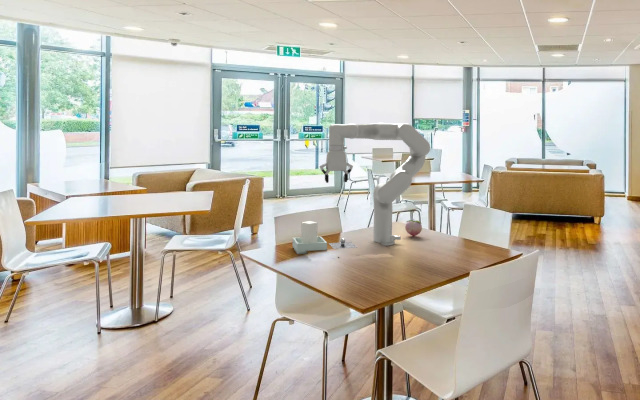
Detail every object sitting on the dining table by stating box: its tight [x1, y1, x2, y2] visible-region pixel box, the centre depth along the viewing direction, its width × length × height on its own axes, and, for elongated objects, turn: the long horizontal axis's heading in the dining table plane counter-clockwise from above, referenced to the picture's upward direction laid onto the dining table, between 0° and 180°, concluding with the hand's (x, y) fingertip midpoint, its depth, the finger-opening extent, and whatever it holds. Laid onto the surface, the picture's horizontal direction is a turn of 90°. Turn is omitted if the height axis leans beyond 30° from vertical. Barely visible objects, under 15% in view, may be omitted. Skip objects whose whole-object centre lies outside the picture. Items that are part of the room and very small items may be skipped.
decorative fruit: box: [404, 219, 423, 237], centre depth 280 cm, size 9×8×10 cm
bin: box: [292, 235, 328, 255], centre depth 248 cm, size 15×15×5 cm
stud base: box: [328, 237, 358, 250], centre depth 252 cm, size 12×12×5 cm
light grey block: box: [300, 220, 318, 243], centre depth 248 cm, size 6×6×13 cm
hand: (336, 182), depth 257 cm, fingers open, 9 cm apart
